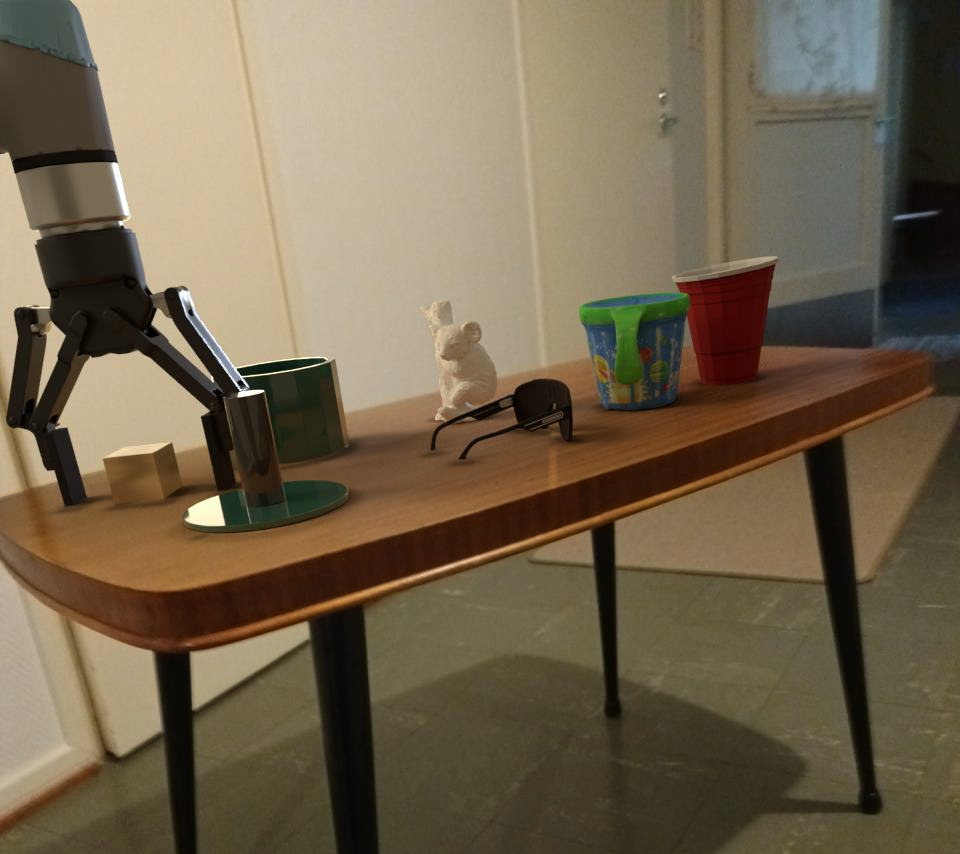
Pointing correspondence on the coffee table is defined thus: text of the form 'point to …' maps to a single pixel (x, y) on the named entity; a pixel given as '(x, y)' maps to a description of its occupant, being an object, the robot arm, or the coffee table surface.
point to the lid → (260, 479)
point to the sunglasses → (525, 410)
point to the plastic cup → (728, 317)
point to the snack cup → (636, 348)
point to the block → (142, 472)
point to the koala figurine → (460, 363)
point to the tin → (300, 406)
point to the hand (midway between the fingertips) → (152, 498)
